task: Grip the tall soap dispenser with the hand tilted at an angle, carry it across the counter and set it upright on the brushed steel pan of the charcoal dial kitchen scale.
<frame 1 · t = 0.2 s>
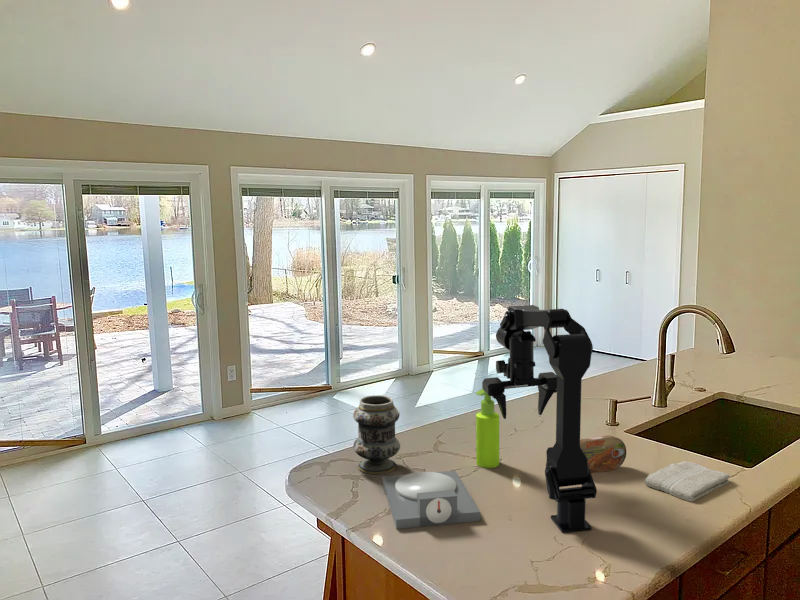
hand: (522, 416, 157), 14 cm above the worktop, tool pointing down, fingers open, 9 cm apart
kitchen scale: (428, 501, 143), on the worktop
washcloth: (687, 486, 150), on the worktop
soap dispenser: (486, 464, 164), on the worktop
apothecary jar: (377, 467, 163), on the worktop
tin: (597, 470, 159), on the worktop
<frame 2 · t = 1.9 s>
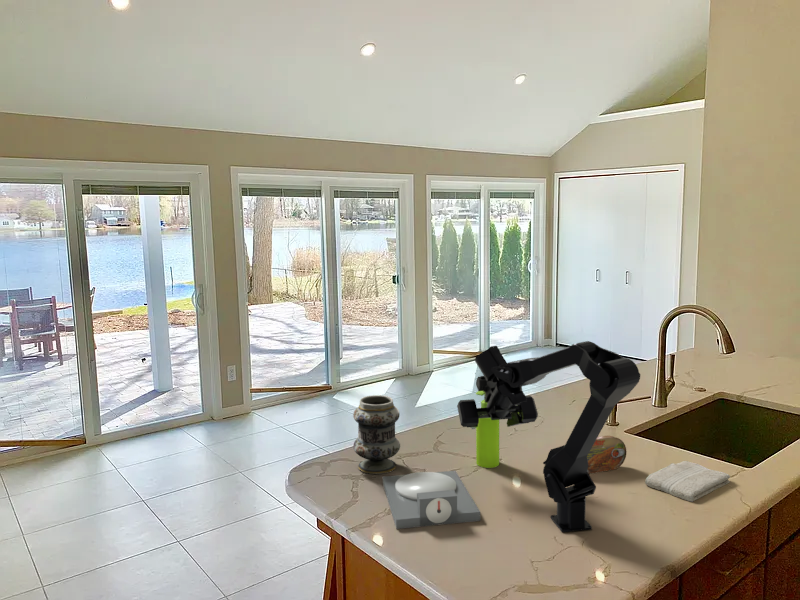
hand: (490, 426, 159), 11 cm above the worktop, tool tilted 45°, fingers open, 9 cm apart
nothing on the worktop moved.
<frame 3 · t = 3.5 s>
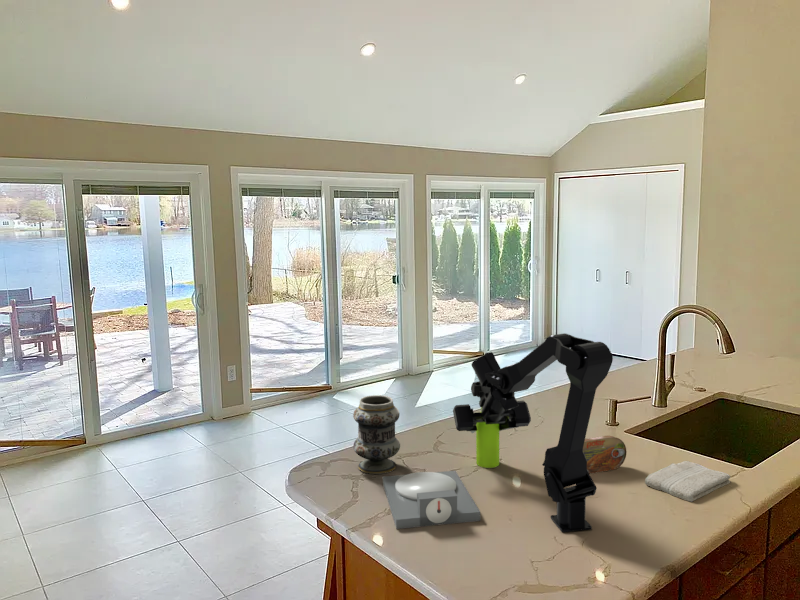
hand: (485, 430, 164), 9 cm above the worktop, tool tilted 45°, fingers open, 7 cm apart
soap dispenser: (486, 464, 164), on the worktop, touching gripper
everything else where it was.
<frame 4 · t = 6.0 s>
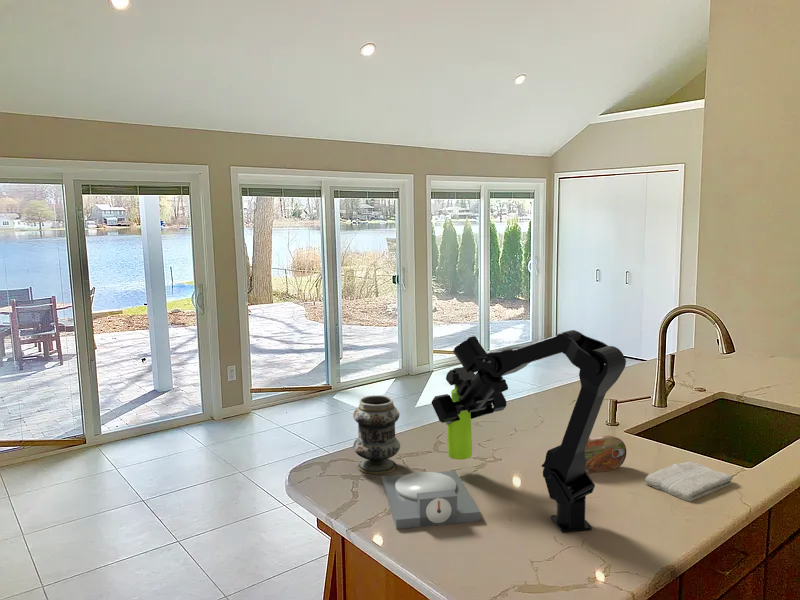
hand: (456, 420, 158), 13 cm above the worktop, tool tilted 45°, fingers closed on soap dispenser, 6 cm apart
soap dispenser: (459, 456, 158), point 4 cm above the worktop, touching gripper
everything else where it was.
when the fingers open (12 cm above the worktop, at t = 8.2 s): soap dispenser stays where it is, resting on kitchen scale.
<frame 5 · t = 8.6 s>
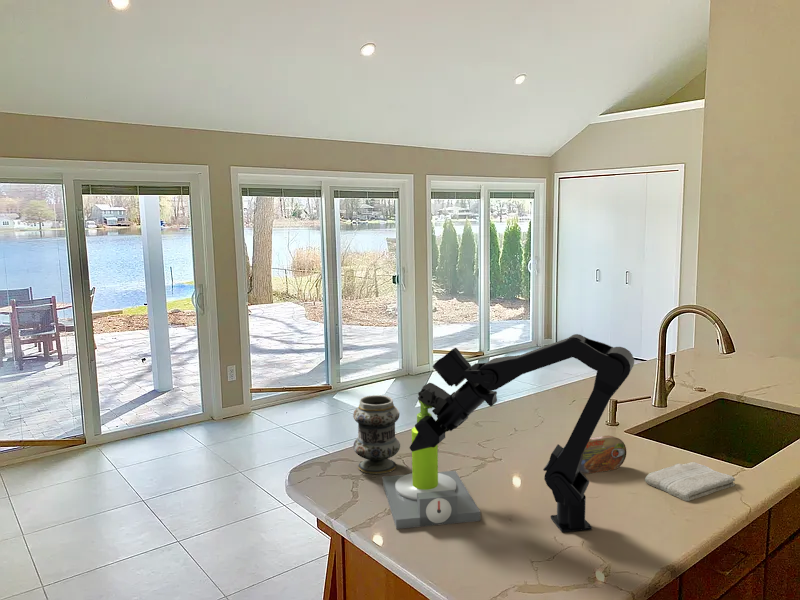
hand: (419, 442, 145), 13 cm above the worktop, tool tilted 45°, fingers open, 9 cm apart
soap dispenser: (425, 485, 145), point 3 cm above the worktop, touching kitchen scale
everything else where it was.
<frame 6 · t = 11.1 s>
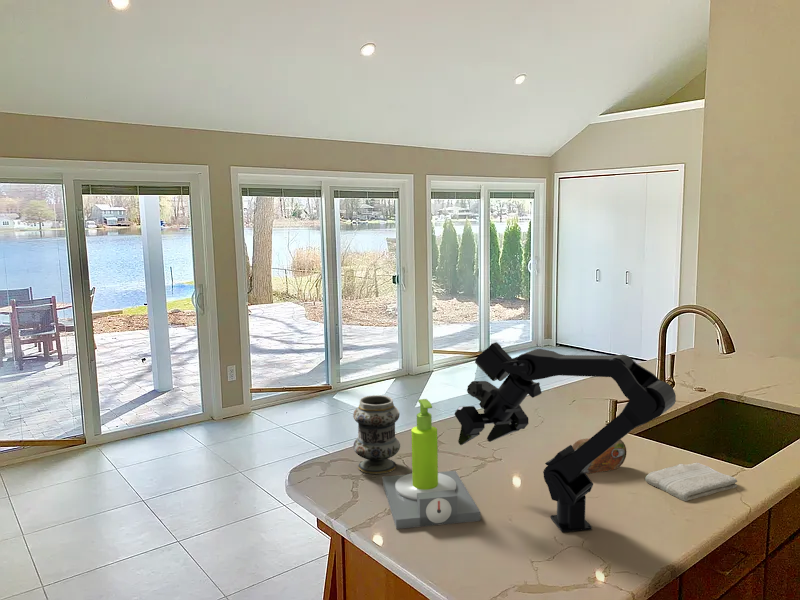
hand: (474, 441, 145), 12 cm above the worktop, tool tilted 35°, fingers open, 9 cm apart
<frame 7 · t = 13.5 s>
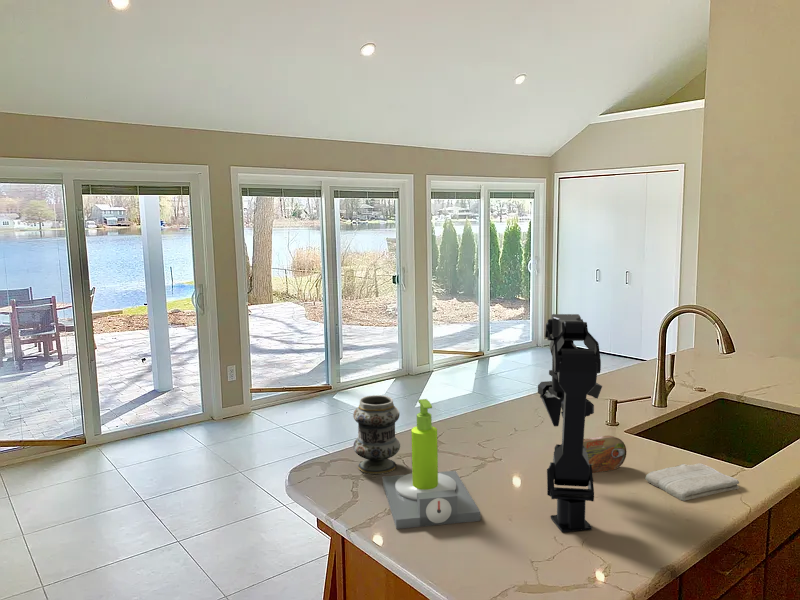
hand: (563, 432, 148), 13 cm above the worktop, tool pointing down, fingers open, 9 cm apart
at the end: soap dispenser inside the target area on the kitchen scale (0.5 cm from its centre), point 2.6 cm above the kitchen scale's base; soap dispenser tilted 0°; the gripper is holding nothing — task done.
